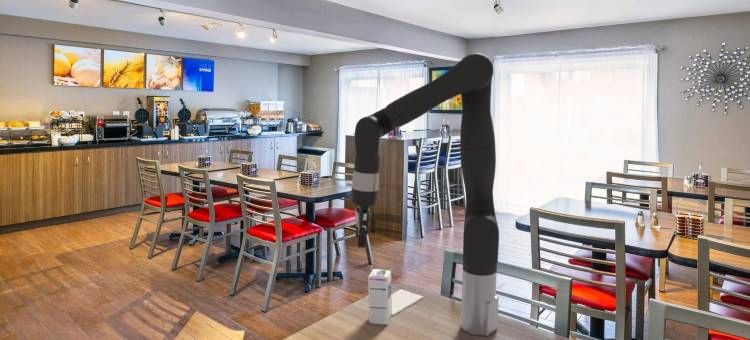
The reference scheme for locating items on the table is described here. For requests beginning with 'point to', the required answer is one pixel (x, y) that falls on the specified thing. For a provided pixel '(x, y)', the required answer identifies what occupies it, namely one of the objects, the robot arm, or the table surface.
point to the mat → (403, 300)
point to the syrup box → (380, 296)
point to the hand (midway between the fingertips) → (360, 241)
